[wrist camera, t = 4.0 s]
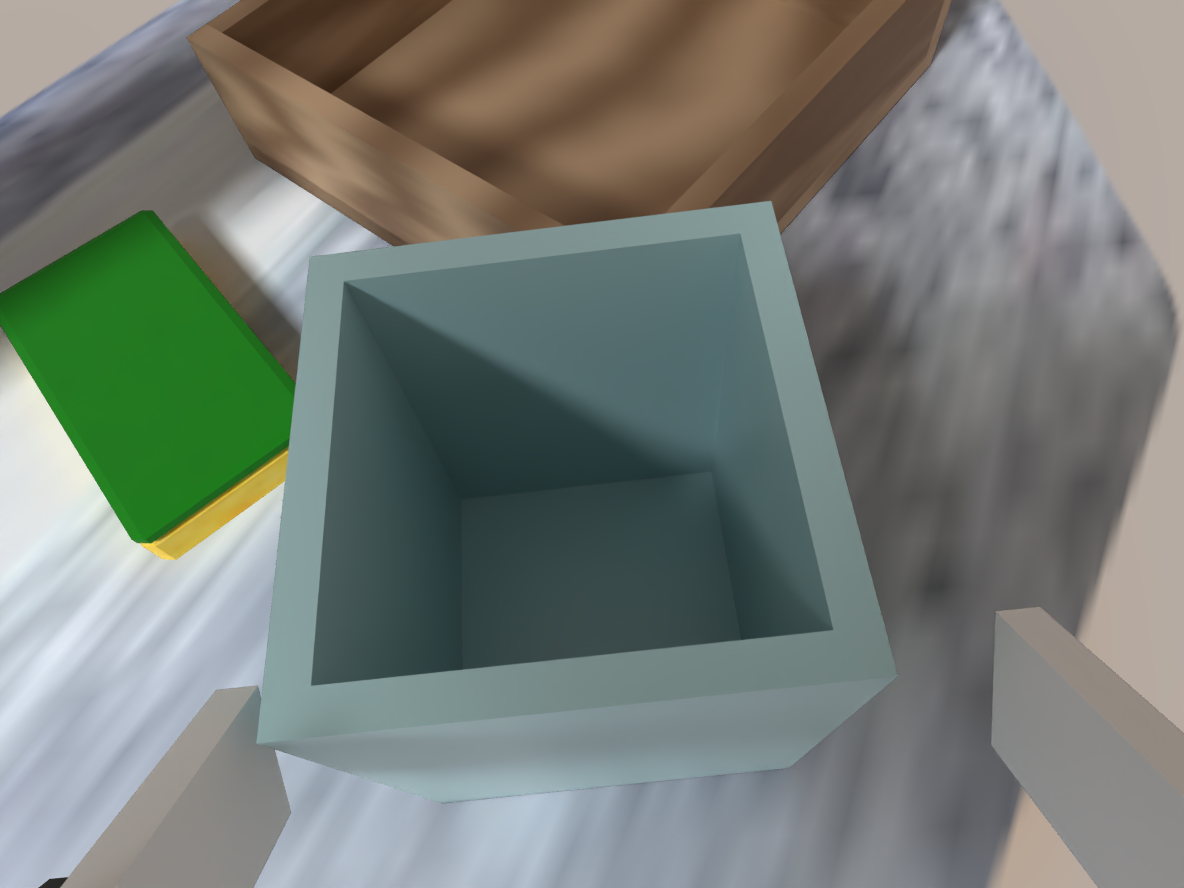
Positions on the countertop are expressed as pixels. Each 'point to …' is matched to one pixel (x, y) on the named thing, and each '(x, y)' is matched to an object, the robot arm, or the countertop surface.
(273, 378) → the dish sponge
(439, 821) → the countertop surface
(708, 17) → the big walnut crate
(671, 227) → the small teal crate
